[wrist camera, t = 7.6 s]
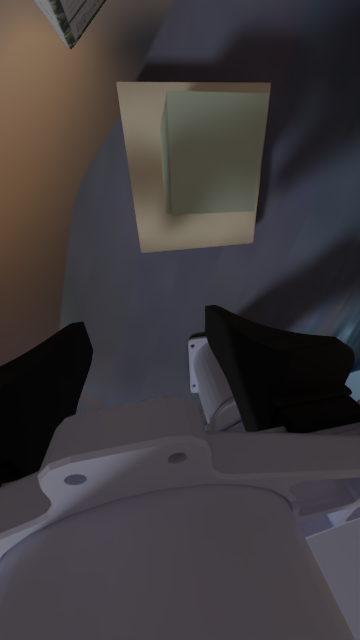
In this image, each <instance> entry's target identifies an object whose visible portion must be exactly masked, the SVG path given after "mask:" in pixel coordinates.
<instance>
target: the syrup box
mask: <svg viewBox="0 0 360 640" xmlns="http://www.w3.org/2000/svg"><path fill="white" fill-rule="evenodd" d="M105 1H106V0H34V2H35V3H36V5H37V6H38V7H39V9H40V10H41V11H42V13H43V14H44V15H45V17H46V18H47V20H48V21H49V22H50V24H51V25H52V26H53V28H54V29H55V31H56V32H57V34H58V35H59V36H60V37H61V39H62V40H63V42H64V43H65V44H66V45H67V47H68V48H69V49H72V48H73V47H74V45H75V44H76V43H77V41H78V40H79V39H80V37H81V36H82V34H83V33H84V31H85V30H86V28H87V27H88V25H89V24H90V23H91V21H92V20H93V18H94V17H95V15H96V14H97V13H98V11H99V10H100V8H101V7H102V5H103V4H104V3H105Z"/></svg>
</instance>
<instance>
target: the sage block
mask: <svg viewBox="0 0 360 640" xmlns="http://www.w3.org/2000/svg"><path fill="white" fill-rule="evenodd" d="M269 96H270V94H267V93H231V92H195V91H166V97H165V103H164V108H163V114H162V120H161V125H160V138H161V154H162V170H163V187H164V203H165V213H167V214H171V215H178V214H202V213H226V212H250V211H255V204H256V196H257V188H258V181H259V173H260V165H261V158H262V150H263V142H264V135H265V127H266V119H267V112H268V104H269Z"/></svg>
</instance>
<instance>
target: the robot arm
mask: <svg viewBox="0 0 360 640" xmlns="http://www.w3.org/2000/svg"><path fill="white" fill-rule="evenodd" d="M205 335H206V336H202V337H195V338H190V339H189V340H188V350H189V370H190V389H191V392H192V393H196V392H198V393H199V396H200V400H201V403H202V406H203V410H204V413H205V416H206V419H207V423H208V424H207V425H206V426H205V427H206V430H205V427H204V423H203V420H202V416H201V413H200V411H199V409H198V407H197V404H196V403H193V402H191V401H189V400H187V399H185V398H183V397H162V398H156V399H151V400H145V401H139V402H133V403H128V404H122V405H116V406H111V407H105V408H99V409H93V410H88V411H84V412H81V413H78V414H76V409H77V404H78V401H79V398H80V395H81V392H82V389H83V386H84V383H85V380H86V378H87V375H88V372H89V369H90V365H91V361H92V355H93V348H92V345H91V342H90V339H89V336H88V334H87V331H86V328H85V325H84V322H77V323H71V324H69V325H68V326H66V327H65V328H63V329H61V330H60V331H59V332H57V333H56V334H54V335H53V336H51V337H50V338H48V339H47V340H45V341H44V342H42V343H41V344H39V345H38V346H36V347H34V348H33V349H31V350H30V351H28V352H26V353H25V354H23V355H21V356H20V357H17V358H16V359H14V360H12V361H10V362H8V363H6V364H4V365H2V366H0V640H360V400H358V401H357V402H356V401H355V400H354V399H353V398H351V397H350V396H349V395H351V393H352V391H351V390H350V389H349V388H348V387H347V386H346V385H345V382H346V380H347V378H348V376H349V374H350V372H351V370H352V368H353V365H354V361H355V354H354V352H353V350H352V349H351V348H350V347H349V346H347V345H346V344H345V343H343V342H342V341H340V340H339V339H337V338H336V337H331V336H319V335H308V334H301V333H294V332H289V331H284V330H279V329H275V328H271V327H267V326H264V325H261V324H258V323H255V322H252V321H250V320H247V319H245V318H242V317H240V316H238V315H236V314H234V313H232V312H229V311H227V310H225V309H223V308H221V307H219V306H217V305H210V306H205ZM192 344H194V345H193V346H191V345H192ZM194 384H195V385H194ZM75 414H76V415H75Z"/></svg>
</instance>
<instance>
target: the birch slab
mask: <svg viewBox="0 0 360 640" xmlns="http://www.w3.org/2000/svg"><path fill="white" fill-rule="evenodd" d="M116 83H117V90H118V97H119V104H120V111H121V118H122V125H123V131H124V138H125V145H126V152H127V159H128V165H129V172H130V179H131V186H132V193H133V199H134V206H135V213H136V220H137V227H138V233H139V240H140V247H141V253H147V252H158V251H169V250H180V249H191V248H202V247H213V246H224V245H235V244H246V243H253V236H254V228H255V219H256V210H257V201H258V193H259V184H260V175H261V166H262V158H263V150H262V158H261V165H260V173H259V181H258V188H257V196H256V204H255V211H250V212H226V213H202V214H178V215H171V214H167V213H165V203H164V187H163V170H162V154H161V138H160V125H161V120H162V114H163V108H164V103H165V97H166V91H195V92H231V93H267V94H270V88H271V83H247V82H116ZM268 105H269V104H268ZM267 114H268V112H267ZM266 123H267V119H266ZM265 131H266V127H265ZM264 140H265V135H264ZM263 149H264V142H263Z"/></svg>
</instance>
